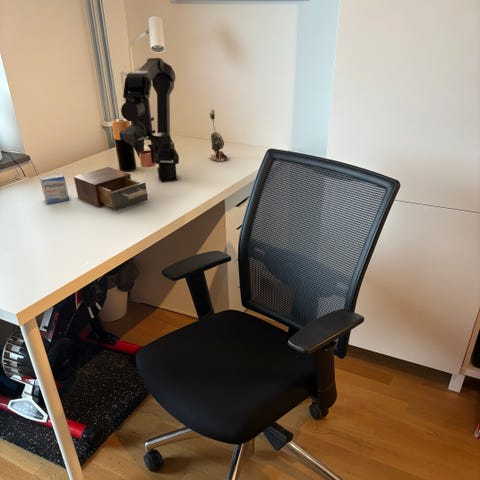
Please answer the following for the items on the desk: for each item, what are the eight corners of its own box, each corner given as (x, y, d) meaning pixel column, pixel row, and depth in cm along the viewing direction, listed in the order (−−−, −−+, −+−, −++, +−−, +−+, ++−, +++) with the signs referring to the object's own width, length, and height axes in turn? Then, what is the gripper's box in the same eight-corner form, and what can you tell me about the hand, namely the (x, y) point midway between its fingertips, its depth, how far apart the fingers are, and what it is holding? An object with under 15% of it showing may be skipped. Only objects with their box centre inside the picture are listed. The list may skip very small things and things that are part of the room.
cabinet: (133, 196, 182) (130, 174, 178) (99, 207, 174) (94, 184, 169) (112, 188, 190) (108, 166, 186) (78, 198, 182) (73, 176, 177)
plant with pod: (207, 163, 214) (204, 113, 203) (212, 155, 223) (209, 107, 212) (226, 163, 213) (223, 113, 202) (230, 155, 222) (228, 107, 211)
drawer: (156, 203, 173) (153, 185, 170) (124, 214, 165) (120, 196, 162) (126, 192, 183) (124, 175, 180) (95, 202, 176) (91, 184, 172)
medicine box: (47, 204, 178) (41, 180, 173) (45, 200, 181) (39, 176, 176) (69, 200, 181) (64, 176, 176) (67, 196, 184) (61, 173, 179)
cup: (153, 162, 179) (151, 149, 177) (158, 165, 175) (156, 152, 173) (138, 164, 177) (137, 151, 175) (143, 168, 173) (141, 154, 171)
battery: (116, 171, 208) (108, 120, 196) (124, 166, 213) (116, 116, 202) (132, 172, 206) (124, 121, 195) (139, 167, 211) (132, 117, 200)
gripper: (104, 116, 166) (112, 164, 174) (146, 122, 157) (152, 172, 166) (128, 110, 173) (134, 156, 182) (169, 115, 165) (174, 163, 173)
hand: (148, 162), depth 175 cm, fingers closed on cup, 5 cm apart
